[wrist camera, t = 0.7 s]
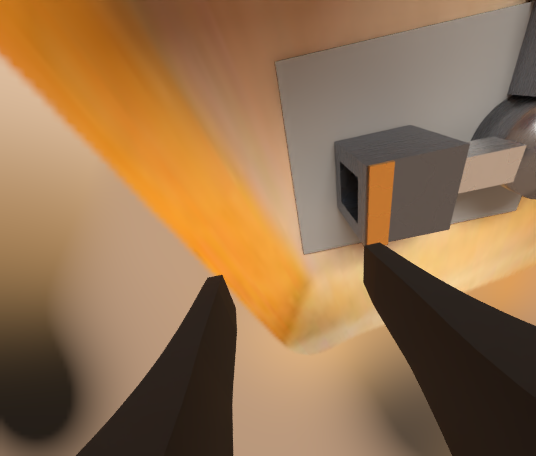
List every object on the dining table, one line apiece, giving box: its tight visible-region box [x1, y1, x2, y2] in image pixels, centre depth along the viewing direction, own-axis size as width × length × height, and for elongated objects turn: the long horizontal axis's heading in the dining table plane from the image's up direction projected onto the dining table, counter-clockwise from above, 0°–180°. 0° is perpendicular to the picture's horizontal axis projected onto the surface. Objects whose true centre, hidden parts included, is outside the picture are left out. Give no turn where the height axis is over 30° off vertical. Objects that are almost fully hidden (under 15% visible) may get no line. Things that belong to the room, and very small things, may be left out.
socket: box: [334, 125, 470, 246], centre depth 15 cm, size 5×5×5 cm
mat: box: [275, 1, 534, 254], centre depth 17 cm, size 18×14×1 cm
